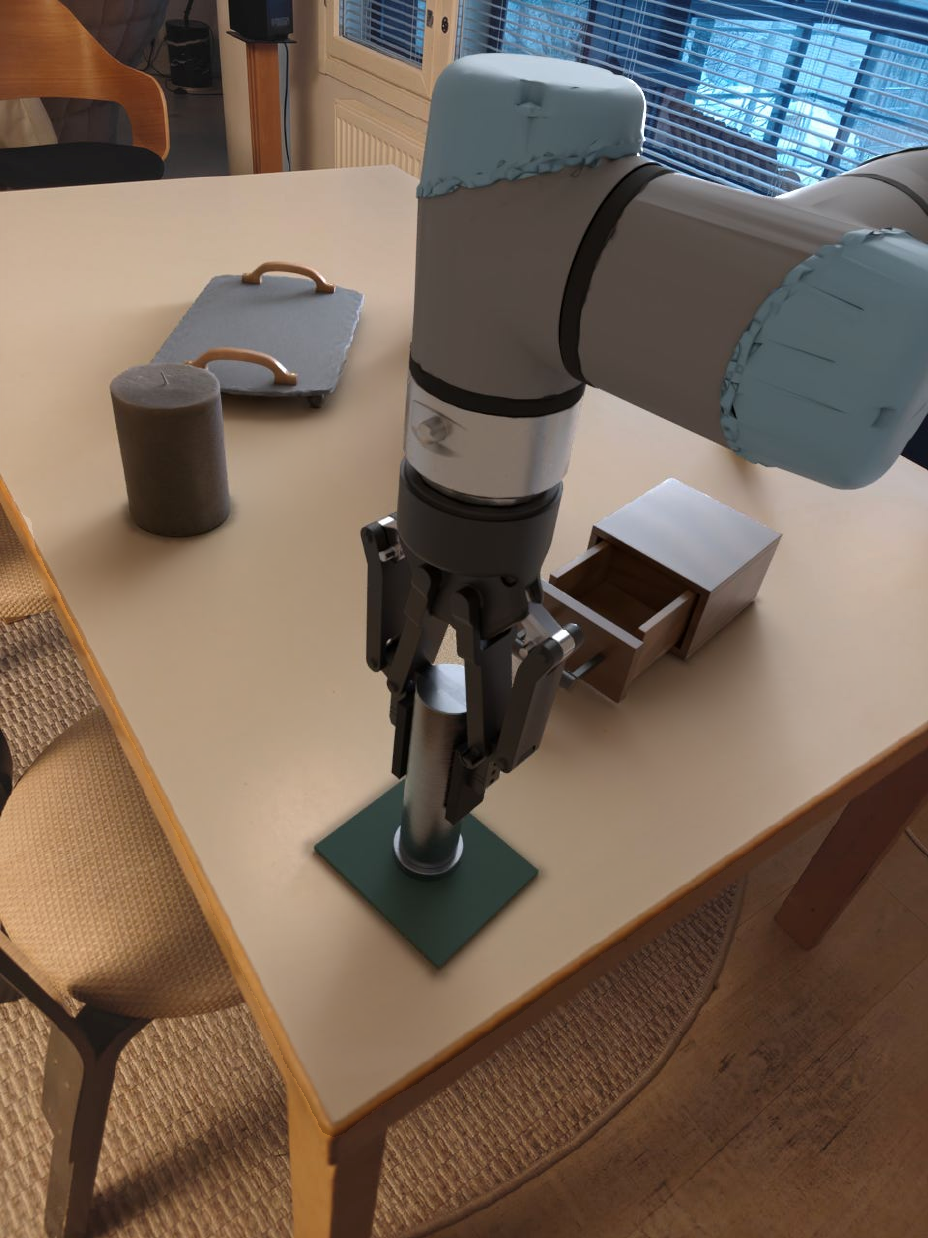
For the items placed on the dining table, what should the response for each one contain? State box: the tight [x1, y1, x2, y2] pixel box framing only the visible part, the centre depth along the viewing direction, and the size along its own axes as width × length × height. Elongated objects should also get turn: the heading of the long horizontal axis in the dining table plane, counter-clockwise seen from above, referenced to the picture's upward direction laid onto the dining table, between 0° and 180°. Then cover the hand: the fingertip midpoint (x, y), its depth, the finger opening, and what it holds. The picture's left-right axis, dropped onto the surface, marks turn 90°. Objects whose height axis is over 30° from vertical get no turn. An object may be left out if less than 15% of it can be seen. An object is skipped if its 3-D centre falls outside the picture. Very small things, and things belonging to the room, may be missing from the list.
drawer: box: [512, 539, 700, 705], centre depth 75 cm, size 18×11×6 cm, turn 137°
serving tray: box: [149, 260, 366, 410], centre depth 116 cm, size 39×23×6 cm, turn 178°
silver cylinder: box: [392, 662, 468, 882], centre depth 53 cm, size 7×5×16 cm
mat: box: [313, 777, 540, 970], centre depth 59 cm, size 12×10×1 cm
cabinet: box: [586, 477, 783, 661], centre depth 83 cm, size 14×13×8 cm
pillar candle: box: [109, 363, 231, 538], centre depth 82 cm, size 10×10×15 cm
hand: (436, 786), depth 54 cm, fingers closed on silver cylinder, 4 cm apart
